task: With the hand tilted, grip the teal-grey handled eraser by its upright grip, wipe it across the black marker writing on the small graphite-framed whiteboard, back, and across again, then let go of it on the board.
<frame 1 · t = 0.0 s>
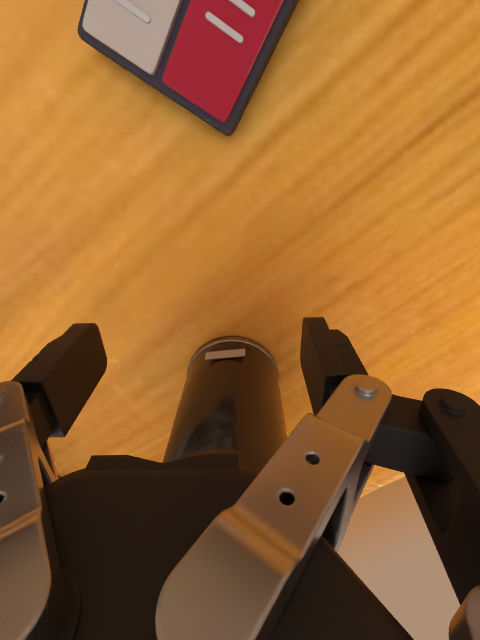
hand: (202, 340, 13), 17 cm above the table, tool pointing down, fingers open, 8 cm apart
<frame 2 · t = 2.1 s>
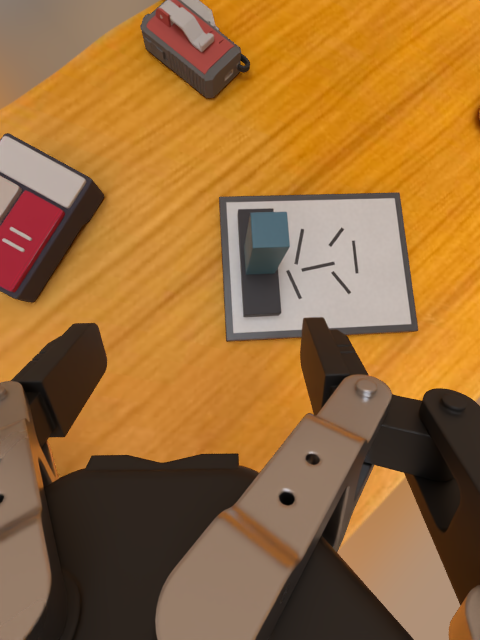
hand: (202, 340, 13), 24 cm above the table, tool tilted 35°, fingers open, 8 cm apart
whiteboard: (314, 265, 38), on the table
eraser: (257, 264, 36), point 1 cm above the table, touching whiteboard
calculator: (30, 227, 37), on the table
walkie-talkie: (180, 41, 42), on the table
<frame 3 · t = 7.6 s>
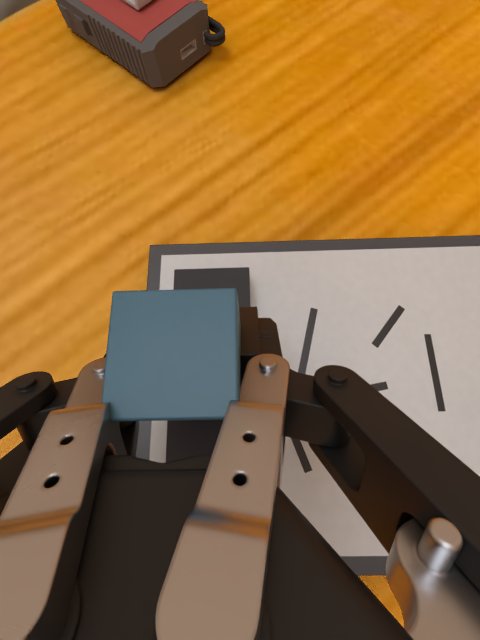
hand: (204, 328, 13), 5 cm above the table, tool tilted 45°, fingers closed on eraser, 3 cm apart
whiteboard: (342, 385, 18), on the table
eraser: (214, 385, 17), point 1 cm above the table, touching gripper, whiteboard
walkie-talkie: (124, 17, 27), on the table
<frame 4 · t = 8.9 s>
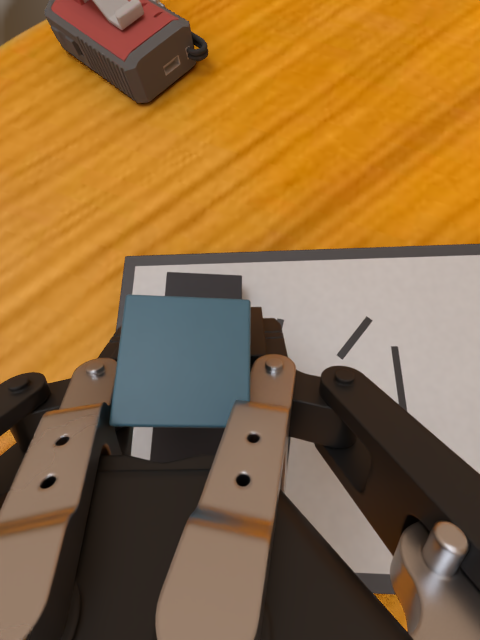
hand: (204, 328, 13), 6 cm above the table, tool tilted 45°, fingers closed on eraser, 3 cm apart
whiteboard: (308, 396, 18), on the table
eraser: (200, 390, 17), point 2 cm above the table, tilted 9°, touching gripper, whiteboard
walkie-talkie: (116, 36, 28), on the table
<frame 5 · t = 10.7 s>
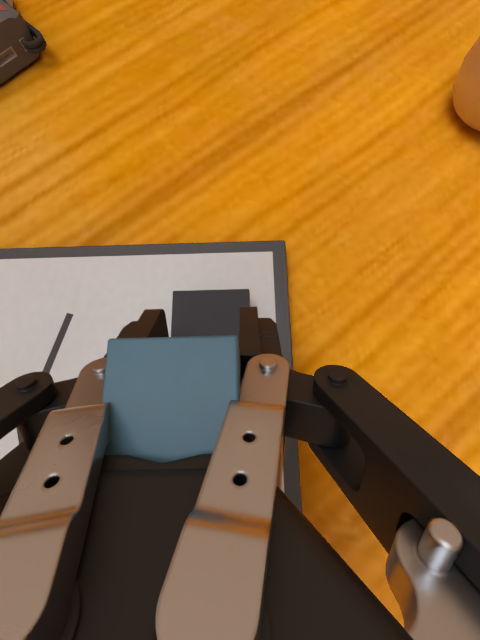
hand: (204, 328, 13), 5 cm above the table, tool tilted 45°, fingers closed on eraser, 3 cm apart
whiteboard: (96, 388, 18), on the table
eraser: (213, 409, 16), point 1 cm above the table, touching gripper, whiteboard
when the fingers open (5 cm above the table, at t = 15.5 s): eraser stays where it is, resting on whiteboard.
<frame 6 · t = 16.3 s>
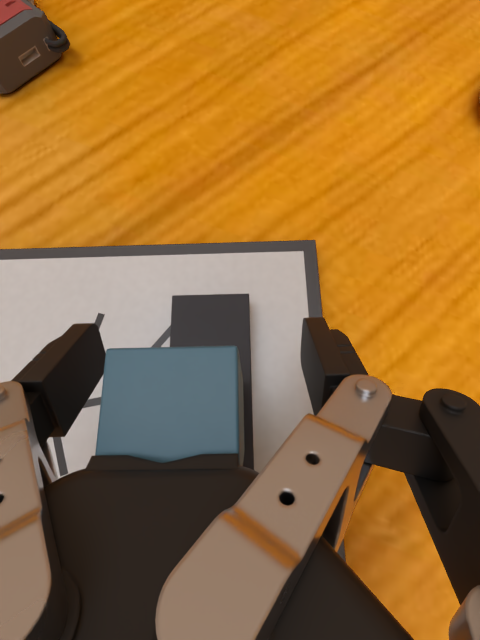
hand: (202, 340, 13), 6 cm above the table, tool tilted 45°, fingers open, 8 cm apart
whiteboard: (128, 389, 18), on the table
eraser: (213, 415, 16), point 1 cm above the table, touching whiteboard
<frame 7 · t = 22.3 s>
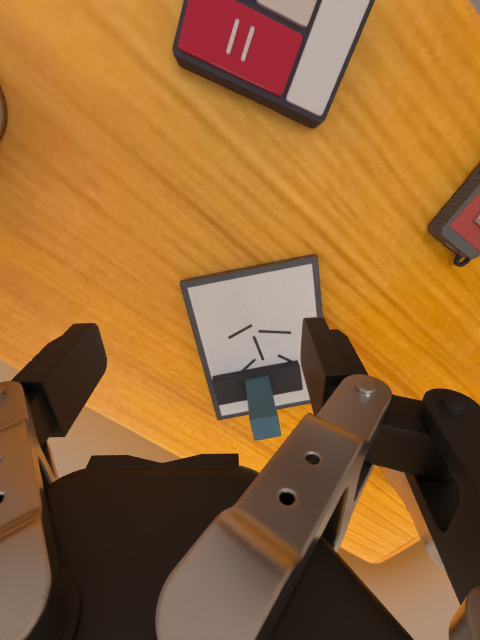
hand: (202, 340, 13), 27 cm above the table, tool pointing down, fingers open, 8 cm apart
whiteboard: (261, 343, 44), on the table
eraser: (257, 379, 45), point 1 cm above the table, touching whiteboard
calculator: (268, 35, 30), on the table
plastic bottle: (393, 452, 55), on the table
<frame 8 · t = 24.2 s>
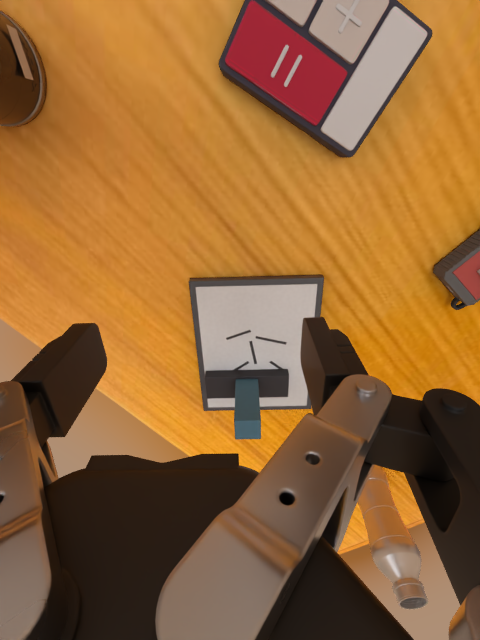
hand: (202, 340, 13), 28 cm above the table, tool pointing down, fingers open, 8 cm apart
whiteboard: (256, 347, 46), on the table
eraser: (246, 380, 48), point 1 cm above the table, touching whiteboard
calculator: (315, 59, 31), on the table
plastic bottle: (361, 464, 58), on the table
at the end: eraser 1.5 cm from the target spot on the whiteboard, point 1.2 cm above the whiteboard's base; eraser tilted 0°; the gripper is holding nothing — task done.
